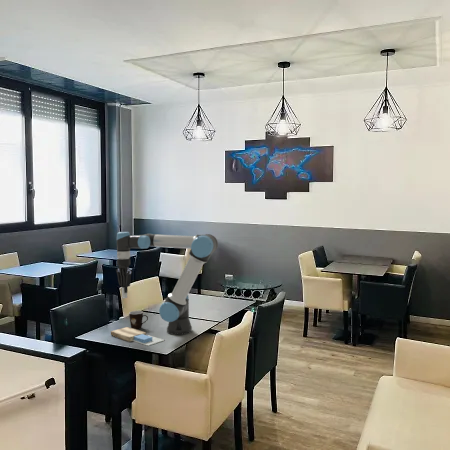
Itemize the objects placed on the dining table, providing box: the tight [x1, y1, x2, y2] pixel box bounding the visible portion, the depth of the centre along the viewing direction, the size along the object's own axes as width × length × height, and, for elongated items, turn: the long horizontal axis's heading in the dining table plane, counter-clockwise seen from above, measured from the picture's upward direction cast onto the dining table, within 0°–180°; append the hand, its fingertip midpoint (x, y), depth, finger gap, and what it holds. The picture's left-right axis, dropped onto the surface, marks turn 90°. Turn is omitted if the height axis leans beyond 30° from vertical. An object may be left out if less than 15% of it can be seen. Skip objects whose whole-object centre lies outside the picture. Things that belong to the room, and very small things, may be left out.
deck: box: [110, 326, 147, 343], centre depth 262 cm, size 12×18×2 cm, turn 49°
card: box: [134, 334, 152, 343], centre depth 252 cm, size 9×6×2 cm, turn 49°
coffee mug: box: [128, 310, 149, 330], centre depth 277 cm, size 12×9×10 cm
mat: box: [131, 334, 165, 347], centre depth 253 cm, size 12×14×1 cm
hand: (124, 297), depth 263 cm, fingers closed
